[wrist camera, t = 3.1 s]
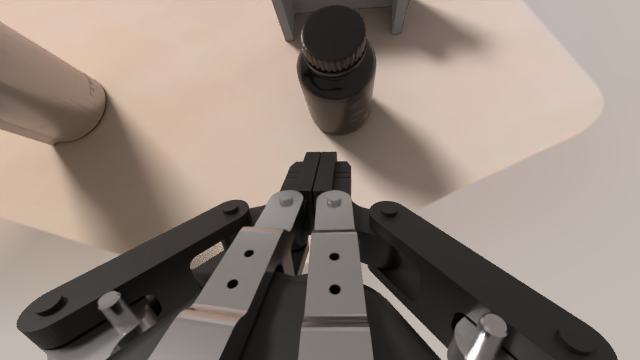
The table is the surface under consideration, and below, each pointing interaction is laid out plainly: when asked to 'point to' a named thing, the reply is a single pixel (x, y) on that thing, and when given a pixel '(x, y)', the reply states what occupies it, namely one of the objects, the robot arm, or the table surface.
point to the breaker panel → (290, 3)
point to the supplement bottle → (336, 69)
